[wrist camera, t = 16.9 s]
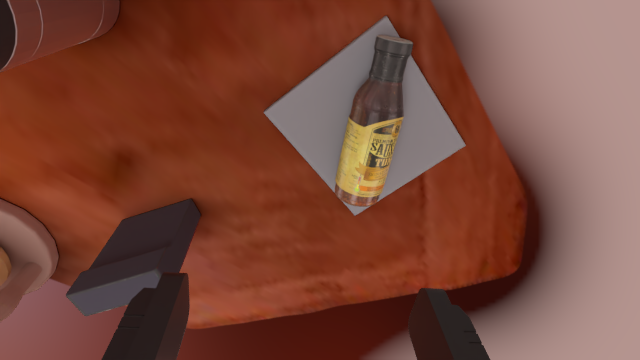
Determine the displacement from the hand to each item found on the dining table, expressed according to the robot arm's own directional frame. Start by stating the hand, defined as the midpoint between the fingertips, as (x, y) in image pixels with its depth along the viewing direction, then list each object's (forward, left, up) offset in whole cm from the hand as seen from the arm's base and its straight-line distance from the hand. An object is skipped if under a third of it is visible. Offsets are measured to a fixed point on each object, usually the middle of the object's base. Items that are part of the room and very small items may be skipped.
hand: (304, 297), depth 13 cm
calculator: (-29, -5, -36) cm, 47 cm away
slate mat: (+2, -12, -36) cm, 38 cm away
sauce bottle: (-4, -18, -32) cm, 37 cm away
